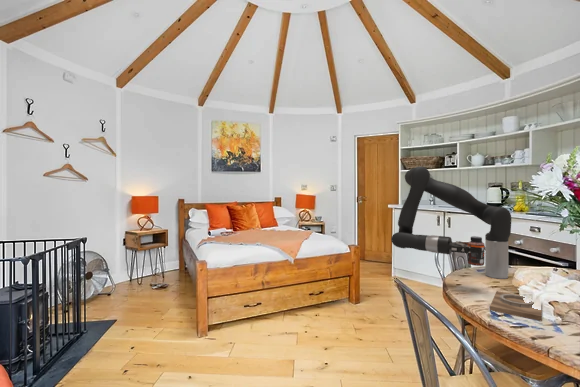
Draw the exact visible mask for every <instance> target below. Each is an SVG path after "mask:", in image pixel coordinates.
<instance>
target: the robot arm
mask: <svg viewBox="0 0 580 387" xmlns="http://www.w3.org/2000/svg"><path fill="white" fill-rule="evenodd" d="M430 174H431V173H430V171H429V169H428V168H426V167H425V166H416V167H414V168H413V167H412V168H411V169H409V170H407V171H406V172H405V175H404V180H405V182H406V184H407V185H408V186H410V188H409V192H408V195H407V198H406V199H405V201H404V203H403V205H402V207H401V209H400V213H399V217H398V219H397V220H398V221H397V225H398V227H399V228H398V231H397V232H395V233H394V234H392V236H391V238H390V240H391V242H392V245H393V246H395V247H396V248H400V249H414V250H418V251H424V252H429V253H435V254H440V255H441V254H444V255H450V254H451V253H459V254H468V253H471V252H472V253H482V248H479V247H471V246H468V242H469V241H468V242H467V241H461V240H455V241H452V240H453V239H452V237H451V236H443V235H433V234H432V235H427V234H413V232H414V231H413V229H414V228H413V227H414V224H415V220H416V217H417V212H418V209H419V206H420V203H421V200H422V198H423V195H424V192H425V193H428V194H430V195H431V196H433V197H435V198H437V199H439V200H440V201H443V203H446V204H448V205H450V206H452V207H454V208H456V209H459V210H461V211H463V212H466V213H469V214H471V215H472V216H474V217H476V218H477V219H479V220H480V221H481V222H484V224H487V225H488V226H489V225H490V229H489V231H488V232H487V233H485V240H484V241H485V243H484V245H485V253H484V273H485V274H484V275H485V276H486V277H489V278H492V279H501V280H502V279H508V278H509V239H510V236H511V232H512V231H511V230H512V214H511V212H510V210H509V209H508V208H505V207H502V206H501V207H500V206H493V205H489V204H488V203H485V202H482V201H480V200H478V199H477V198H475V196H474V195H473V194H472V193H470V192H469V191H467V190H465V189H463V188H462V187H459V186H457V185H455V184H451V183H449V182H445V181H440V180H437V179H434V178H433V177H431V175H430Z"/></svg>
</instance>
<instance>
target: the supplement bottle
mask: <svg viewBox="0 0 580 387" xmlns="http://www.w3.org/2000/svg"><path fill="white" fill-rule="evenodd" d="M468 246H471V247H479V248H482V253H472V252H471V253H467V264H468V265H471V266H477V267H478V266H480V267H483V266H485V243H484V242H483V237H482V236H475V235H473V236H470V241H468Z"/></svg>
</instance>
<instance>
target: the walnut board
mask: <svg viewBox="0 0 580 387" xmlns="http://www.w3.org/2000/svg"><path fill="white" fill-rule="evenodd" d="M520 295H521V294H518V293H511V292H506V291H505V292H504V291H499V290H496V291H495V293H494V296H493V298H492V301H491V303H490V305H489V311H491V310H492V312H497V313H501V314H502V313H503V314H507V315H510V316H511V315H512V316H515V317H522V318H527V319H531V320H536V321H541V322H542V320H543V319H542V316H543V315H542V311H543V309H542V310H538V309H534V308H532V305H533V304H534V302H532V301H531V302H529V303H525V302H524V300H523V298H525V297H523V296H520Z"/></svg>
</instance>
